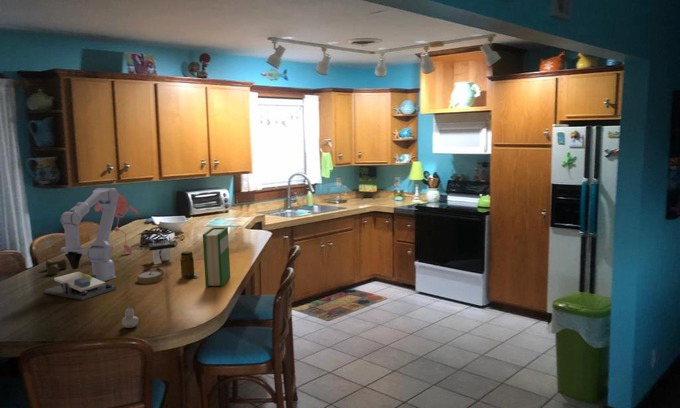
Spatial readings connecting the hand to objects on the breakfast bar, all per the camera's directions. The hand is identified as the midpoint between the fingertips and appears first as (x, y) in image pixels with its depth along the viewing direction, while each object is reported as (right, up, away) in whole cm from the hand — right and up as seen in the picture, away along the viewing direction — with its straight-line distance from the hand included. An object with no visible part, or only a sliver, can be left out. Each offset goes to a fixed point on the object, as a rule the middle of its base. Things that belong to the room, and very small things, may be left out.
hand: (75, 268), depth 238 cm
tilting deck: (+3, -5, -3) cm, 7 cm away
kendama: (-28, -6, +36) cm, 46 cm away
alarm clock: (+28, -7, +15) cm, 33 cm away
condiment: (+46, -6, +18) cm, 50 cm away
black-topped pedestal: (+22, -3, +50) cm, 55 cm away
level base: (+3, -10, -2) cm, 10 cm away
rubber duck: (+43, -15, -48) cm, 66 cm away
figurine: (-10, 0, +75) cm, 75 cm away
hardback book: (+62, -7, +8) cm, 63 cm away
